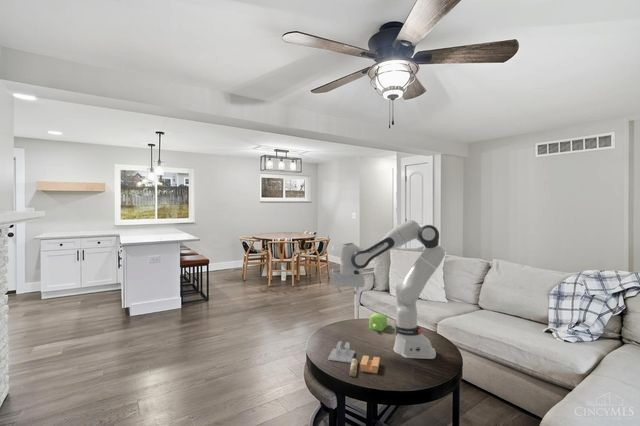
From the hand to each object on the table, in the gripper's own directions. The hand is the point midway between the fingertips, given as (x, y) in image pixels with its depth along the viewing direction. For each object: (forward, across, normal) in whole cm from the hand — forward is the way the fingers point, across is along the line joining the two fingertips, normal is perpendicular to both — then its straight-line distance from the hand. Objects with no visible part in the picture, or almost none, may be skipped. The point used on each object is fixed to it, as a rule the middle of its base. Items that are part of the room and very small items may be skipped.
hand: (347, 293), depth 192 cm
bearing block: (+29, +1, -18) cm, 34 cm away
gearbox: (+29, +16, +26) cm, 42 cm away
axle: (+27, +8, -33) cm, 43 cm away
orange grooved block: (+29, +17, -29) cm, 44 cm away
